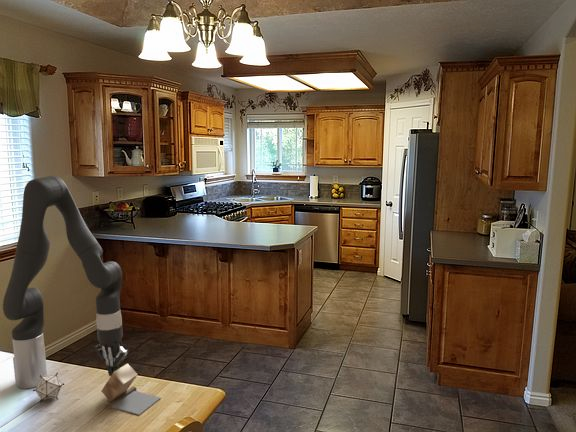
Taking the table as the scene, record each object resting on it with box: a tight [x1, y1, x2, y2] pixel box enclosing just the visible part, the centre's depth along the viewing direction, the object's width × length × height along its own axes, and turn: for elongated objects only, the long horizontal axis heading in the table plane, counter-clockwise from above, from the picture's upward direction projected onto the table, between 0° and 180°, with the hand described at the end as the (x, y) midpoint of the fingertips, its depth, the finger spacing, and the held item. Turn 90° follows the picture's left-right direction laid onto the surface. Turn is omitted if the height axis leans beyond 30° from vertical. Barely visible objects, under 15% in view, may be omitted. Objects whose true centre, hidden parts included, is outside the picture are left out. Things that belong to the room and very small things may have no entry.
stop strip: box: [105, 386, 137, 410], centre depth 145 cm, size 2×12×1 cm, turn 157°
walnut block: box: [100, 363, 139, 402], centre depth 144 cm, size 5×6×10 cm
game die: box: [32, 372, 65, 403], centre depth 145 cm, size 9×8×10 cm
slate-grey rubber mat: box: [111, 390, 162, 416], centre depth 142 cm, size 11×10×1 cm
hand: (113, 375), depth 145 cm, fingers closed
